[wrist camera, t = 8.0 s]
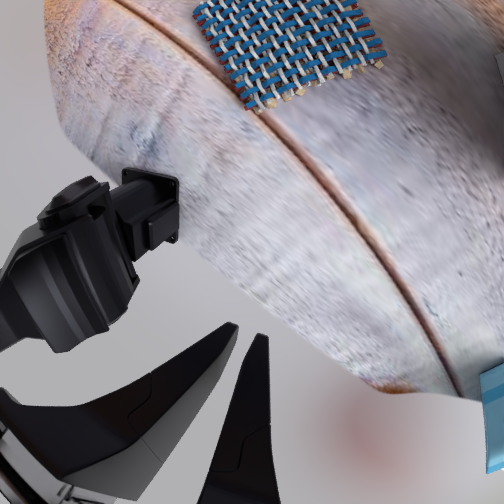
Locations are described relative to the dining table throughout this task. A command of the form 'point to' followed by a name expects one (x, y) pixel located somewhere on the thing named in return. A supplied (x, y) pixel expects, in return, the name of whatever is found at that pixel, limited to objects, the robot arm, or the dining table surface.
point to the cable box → (500, 64)
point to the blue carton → (493, 416)
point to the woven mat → (286, 44)
